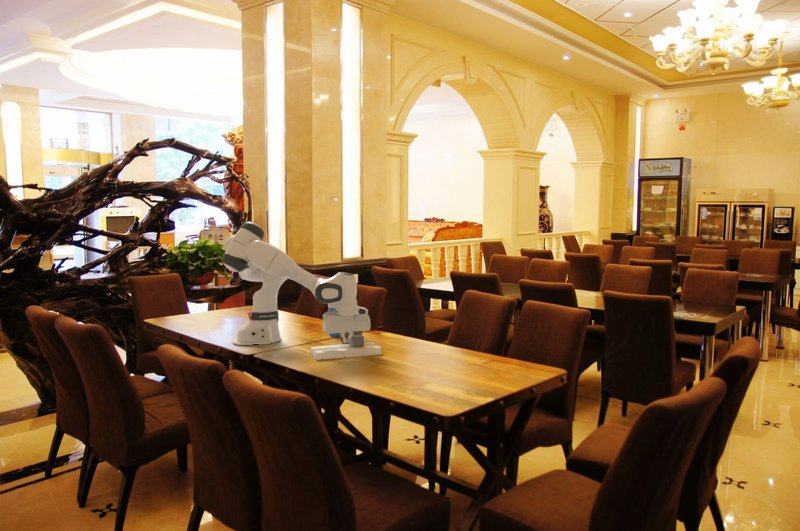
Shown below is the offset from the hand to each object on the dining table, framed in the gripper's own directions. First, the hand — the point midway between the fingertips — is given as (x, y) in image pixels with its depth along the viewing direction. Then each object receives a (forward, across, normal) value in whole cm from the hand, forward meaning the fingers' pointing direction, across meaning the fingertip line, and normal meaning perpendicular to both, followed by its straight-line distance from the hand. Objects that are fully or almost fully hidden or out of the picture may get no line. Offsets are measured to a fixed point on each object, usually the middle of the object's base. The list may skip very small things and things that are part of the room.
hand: (347, 342), depth 265 cm
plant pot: (+5, +6, +18) cm, 20 cm away
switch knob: (+3, +4, 0) cm, 5 cm away
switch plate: (+5, -1, 0) cm, 5 cm away
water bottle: (+5, +6, +41) cm, 42 cm away
